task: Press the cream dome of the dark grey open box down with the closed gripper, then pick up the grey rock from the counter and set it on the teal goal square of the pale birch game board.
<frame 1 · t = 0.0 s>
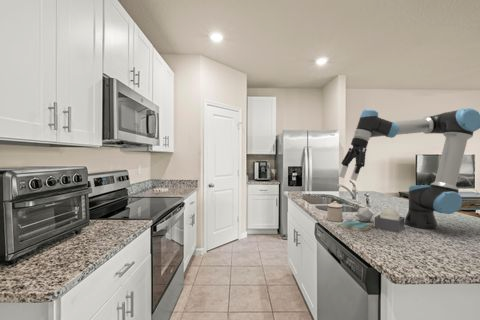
hand: (346, 178, 130), 28 cm above the countertop, tool tilted 20°, fingers open, 13 cm apart
grey rock: (364, 221, 154), on the countertop
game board: (355, 226, 141), on the countertop
dark grey open box: (389, 228, 139), on the countertop
dome: (389, 215, 139), point 7 cm above the countertop, slide at 0.0 cm
teacup with lid: (333, 219, 157), on the countertop
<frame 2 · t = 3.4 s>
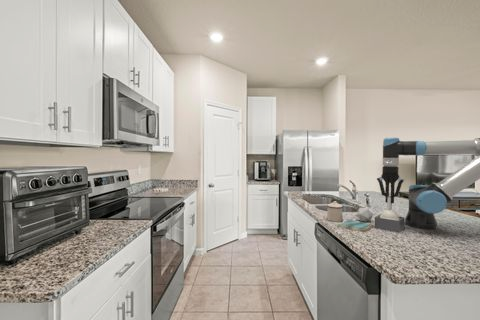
hand: (389, 208, 139), 11 cm above the countertop, tool pointing down, fingers closed
dome: (389, 217, 139), point 6 cm above the countertop, slide at -0.8 cm, touching gripper
everything else where it was.
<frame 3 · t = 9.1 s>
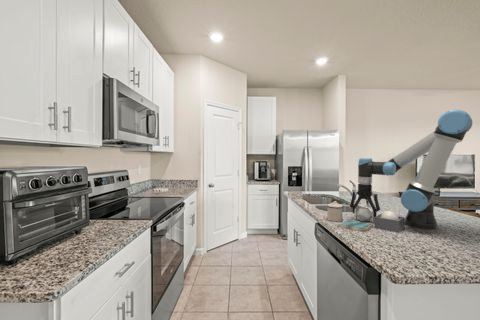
hand: (364, 220, 154), 0 cm above the countertop, tool pointing down, fingers closed on grey rock, 9 cm apart
grey rock: (364, 221, 154), on the countertop, touching gripper
dome: (389, 218, 139), point 5 cm above the countertop, slide at -1.6 cm
everything else where it was.
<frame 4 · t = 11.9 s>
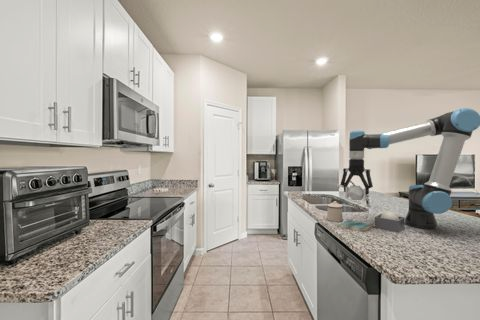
hand: (355, 199, 141), 15 cm above the countertop, tool pointing down, fingers closed on grey rock, 9 cm apart
grey rock: (355, 200, 141), point 15 cm above the countertop, touching gripper
everything else where it was.
when the fingers open (3 cm above the countertop, at t = 14.7 s): grey rock drops 1 cm, resting on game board.
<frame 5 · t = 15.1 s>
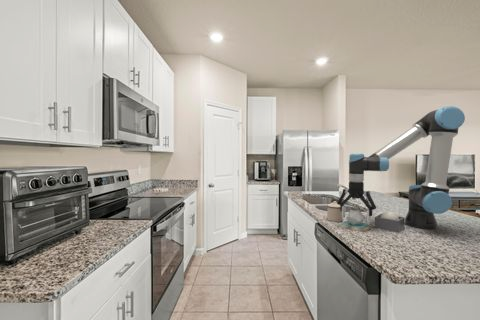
hand: (355, 219, 141), 4 cm above the countertop, tool pointing down, fingers open, 13 cm apart
grey rock: (355, 224, 141), point 1 cm above the countertop, touching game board
everything else where it was.
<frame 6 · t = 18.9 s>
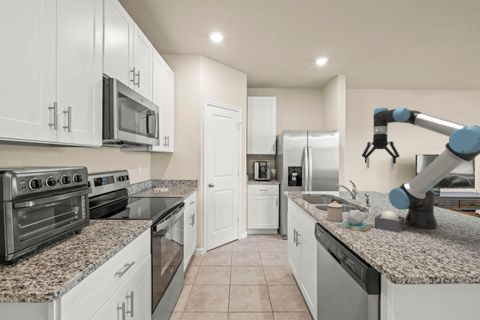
hand: (379, 168, 154), 32 cm above the countertop, tool pointing down, fingers open, 13 cm apart
nothing on the countertop moved.
at the end: dome slide at -1.6 cm; grey rock inside the target area on the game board (0.0 cm from its centre), point 1.2 cm above the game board's base; grey rock tilted 0° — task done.
